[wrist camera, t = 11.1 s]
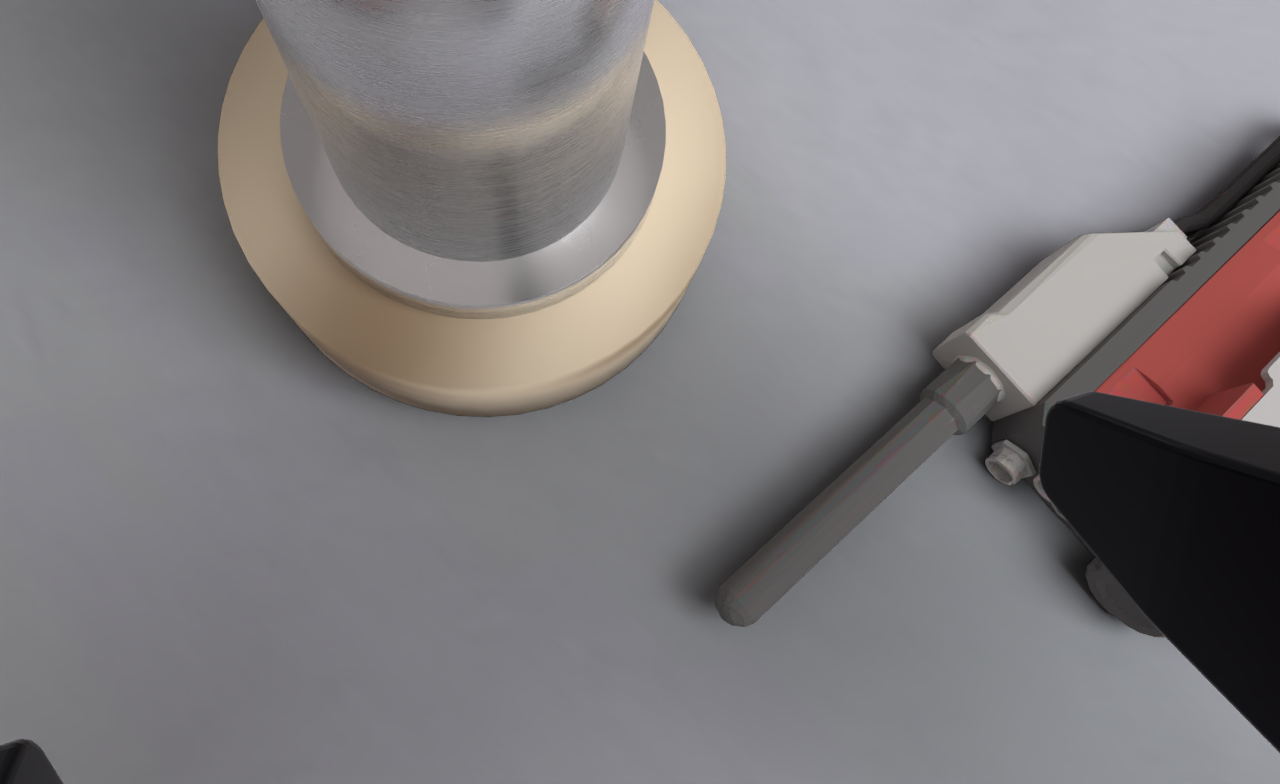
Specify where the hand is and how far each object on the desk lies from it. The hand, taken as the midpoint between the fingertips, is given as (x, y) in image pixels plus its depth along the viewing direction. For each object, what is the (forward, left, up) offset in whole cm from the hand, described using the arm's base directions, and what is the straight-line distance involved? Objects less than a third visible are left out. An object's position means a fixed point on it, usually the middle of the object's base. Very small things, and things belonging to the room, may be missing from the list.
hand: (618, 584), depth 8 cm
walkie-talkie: (-11, -8, -13) cm, 19 cm away
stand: (+5, -8, -12) cm, 15 cm away
